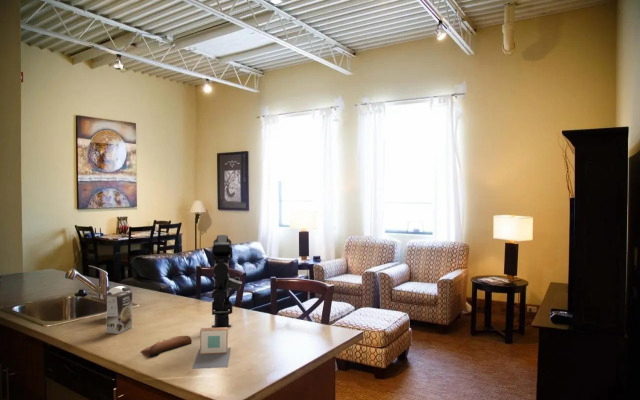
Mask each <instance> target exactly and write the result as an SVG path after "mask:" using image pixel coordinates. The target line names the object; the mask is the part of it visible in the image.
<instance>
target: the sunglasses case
mask: <svg viewBox="0 0 640 400" xmlns="http://www.w3.org/2000/svg"><path fill="white" fill-rule="evenodd" d="M192 343H193V342H192V338H191V336H189V335H178V336H174V337H171V338H168V339H162V341H157V342H155V343H153V344H152V345H150V346H147V347H145V348H143V349H142V350H140V352H139V353H140V354H142V355H145V356H147V357H149V358H151V357H154V356H156V355H159V354H161V353H164V352H166V351H169V350H174V349H176V348H179V347H183V346H186V345H190V344H192Z"/></svg>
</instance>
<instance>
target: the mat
mask: <svg viewBox="0 0 640 400" xmlns="http://www.w3.org/2000/svg"><path fill="white" fill-rule="evenodd" d="M231 349H232V347H228V352H227V353H216V354H200V348H199V349H198V352H197V354H196V357H195V360H194V362H193V365H192V368H191V369H192V370H193V369H194V370H196V369H197V370H199V369H201V370H202V369H219V368H229V362H230V357H231V356H230V355H231Z"/></svg>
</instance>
